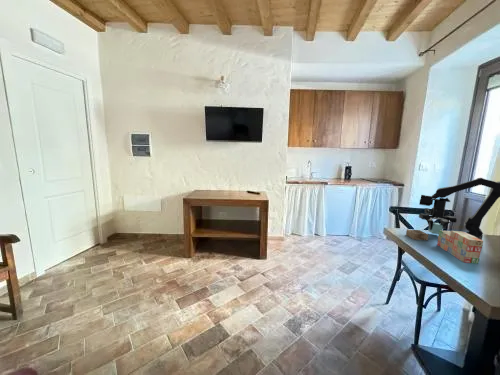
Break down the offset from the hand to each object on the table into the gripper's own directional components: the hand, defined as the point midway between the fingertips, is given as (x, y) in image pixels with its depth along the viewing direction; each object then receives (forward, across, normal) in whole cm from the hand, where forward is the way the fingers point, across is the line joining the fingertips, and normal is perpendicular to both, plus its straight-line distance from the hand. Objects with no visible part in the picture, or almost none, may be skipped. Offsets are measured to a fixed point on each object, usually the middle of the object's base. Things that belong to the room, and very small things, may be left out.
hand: (435, 230), depth 143 cm
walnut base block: (+4, +14, +9) cm, 17 cm away
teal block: (+2, 0, 0) cm, 2 cm away
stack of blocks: (+4, +4, +29) cm, 30 cm away
